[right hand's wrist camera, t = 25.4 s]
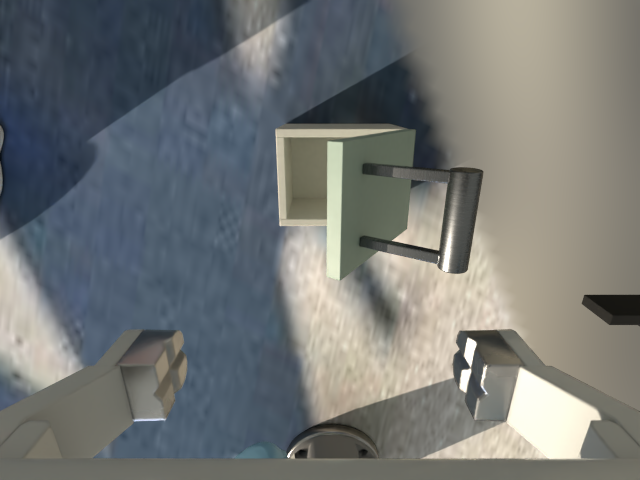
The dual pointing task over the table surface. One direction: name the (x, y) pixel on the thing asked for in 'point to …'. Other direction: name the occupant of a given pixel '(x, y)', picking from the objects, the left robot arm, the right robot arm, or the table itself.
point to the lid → (391, 203)
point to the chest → (310, 168)
